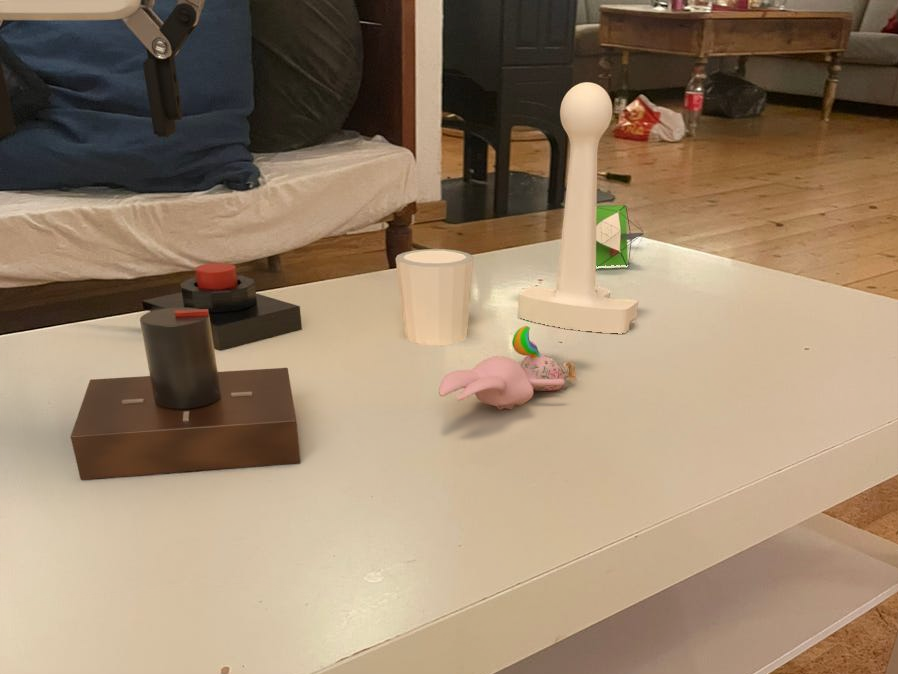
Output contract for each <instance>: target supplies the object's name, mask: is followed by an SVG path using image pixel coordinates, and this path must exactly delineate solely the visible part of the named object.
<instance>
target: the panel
mask: <svg viewBox="0 0 898 674" xmlns="http://www.w3.org/2000/svg"><path fill="white" fill-rule="evenodd" d="M218 378H219V385H220V392H221V396H220V398H219V399H218V400H217V401H216V402H214V403H212V404H209V405H206V406H203V407H198V408H191V409H171V408H165V407H162V406H159V405H158V404H156V403H155V401H154V395H153V390H152V384H151V379H150V375H143V376H127V377H125V376H124V377H109V378H95V379H94V378H93V379H90V380H89V381H88V385H87V388H86V391H85V394H84V396H83V400H82V402H81V405H80V408H79V411H78V414H77V417H76V418H75V419H76V420H75V423H74V425H73V428H72V431H71V434H70V442H71V445H72V450H73V453H74V457H75V462H76V467H77V471H78V473H79V474H78V475H79V479H80V480H81V481H83V480H95V479H110V478H111V479H112V478H122V477H124V478H125V477H135V476H150V475H161V474H162V475H163V474H175V473H186V472H187V473H188V472H201V471H212V470H214V471H215V470H227V469H239V468H251V467H263V466H265V467H266V466H276V465H278V466H279V465H291V464H301V453H300V452H301V451H300V445H299V444H300V443H299V433H298V422H297V416H296V411H295V403H294V397H293V391H292V386H291V379H290V374H289V368H288V367H275V368H258V369H243V370H227V371H218Z"/></svg>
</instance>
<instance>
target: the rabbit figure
mask: <svg viewBox="0 0 898 674" xmlns="http://www.w3.org/2000/svg"><path fill="white" fill-rule="evenodd" d="M530 329H531V327H530V326H528V325H524V326H522V327H520V328H519V329H517V330H516V332H515V333H514V335H513V338H512V348H513V349H514V351H515V352H516V353H517V354H519V355H521V356H525V357H524V358H523V359H522V362H521V364H520V363H519V362H517V361H516V360H515V359H512V358H510V357H508V356H504V355H496V356H495V355H494V356H491V357H487V358H486V359H483V360H481V361H479V362H478V363H477V365H475V366H474V367H473V368H472V369H458V370H453V371H451V372H449V373H447V374H446V375H444V377H443V378H442V380H441V382H440V385H439V389H438V394H439V396H440V397H442V398H443V397H446V396H448V395H449V394H452V393H454V392H456V391H459V390H462V391H461V392H460V393H459V394H458V395H457V396H456V398H455V400H456V401H459V402H460V401H464V400H465V399H468V398H469V397H472V396H473V395H475V397H476V399H478V400H479V401H480V402H481V403H483V404H486V405H489V406H492V407H493V406H494V407H496V408H497V409H498V410H499V411H501V410H504V409H507V410H510V409H513V408H514V406H520V405H524V404H526V403H527V402H528V401H530V400H531V399H532V398H533V396H534V394H535V393H534V391H537V392H544V391H547V392H557V391H558V390H560V389H561V388H563V386H565V383H566V381H567V378H568V377H569V382H570V384H573V381H572V379H574V381H577V380H578V379H577V378H576V371H575V368H576V367H575V361H576V359H574V360H573V361H572V363H570V361H569V360H566V361H565V362H564V363H562V364H559V363H558V362H557V360H555V359H554V358H552V357H550V354H547V356H546V355H543V354H542V353H541V352H540V351H539V349H538V346H537V345H536V343H535V342H533V341H531V340H530Z"/></svg>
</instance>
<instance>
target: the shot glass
mask: <svg viewBox="0 0 898 674" xmlns="http://www.w3.org/2000/svg"><path fill="white" fill-rule="evenodd" d="M474 257H475V256H473V255H472V254H470V253H468V252H465V251H461V250H455V249H445V248H441V249H440V248H428V249H427V248H426V249H415V250H410V251H405V252H402V253H399V254H397V255H396V257H395V264H396V265H395V267H396V273H397V281H398V289H399V298H400V307H401V313H402V320H403V329H404V336H405V338H406V339H407V341H409V342H411V343H414V344H418V345H425V346H446V345H453V344H457V343H461V342H463V341H465V340H466V339H467V337H468V328H469V327H468V326H469V315H470V305H471V304H470V303H471V293H472V282H473V270H474V260H475V259H474Z"/></svg>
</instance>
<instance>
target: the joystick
mask: <svg viewBox="0 0 898 674" xmlns="http://www.w3.org/2000/svg"><path fill="white" fill-rule="evenodd" d="M559 116H560V117H559V118H560V124H561V125H562V127H563V130H564V131H565V132H566V134H567V137H568V140H569V144H570V151H569V160H568V161H569V162H568V169H567V182H566V191H565V202H564V209H563V211H564V212H563V221H562V230H561V240H560V251H559V259H558V260H559V261H558V268H557V270H558V271H557V280H556V290H554V289H549V288H546V287H543V286H535V285H534V286H530V287H528V288H526V289H524V290H522V291H520V292H519V293H518V299H517V300H518V302H517V303H518V304H517V318H518V317H519V318H518V319H520V318H522V319H521V320H523V319H525V320H524V321H526V320H529V321H528V322H530V321H534V322H536V323H535V324H538V323H541V324H540V325H542V324H545V325H544V326H547V325H549V326H548V327H552V326H555V327H554V328H558V327H560V328H559V329H564V328H565V329H566V330H570V329H573V330H572V331H578V330H580V331H579V332H586V331H592V332H591V333H596V332H602V333H601V334H610V333H618V334H617V335H623V334H622V333H625V334H626V332H627V331H628V332H630V324H631V323H632V324H633V323H636V322H637V317H638V305H639V301H638V300H637V299H623V298H622V299H621V298H611V290H610V289H608V288H606V287H603V286H597V285H596V281H597V280H596V278H597V277H596V276H597V275H596V274H597V273H596V270H597V269H596V213H597V206H598V205H597V203H598V150H599V149H598V147H599V143H600V141H601V138H602V136H603V135H604V134H605V133H606V131H607V129H608V128H609V126H610V124H611V122H612V118H613V103H612V99H611V97H610V95H609V93H608V91H606V89H604V88H603V87H602V86H601V85H599V84H598V83H594V82H587V81H585V82H580V83H578V84H576V85H574V86H573V87H571V88H570V89H569V90H568V91H567V92H566V94H565V95H564V97H563V99H562V101H561V104H560V109H559ZM534 322H533V323H534ZM628 332H627V333H628Z"/></svg>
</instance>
